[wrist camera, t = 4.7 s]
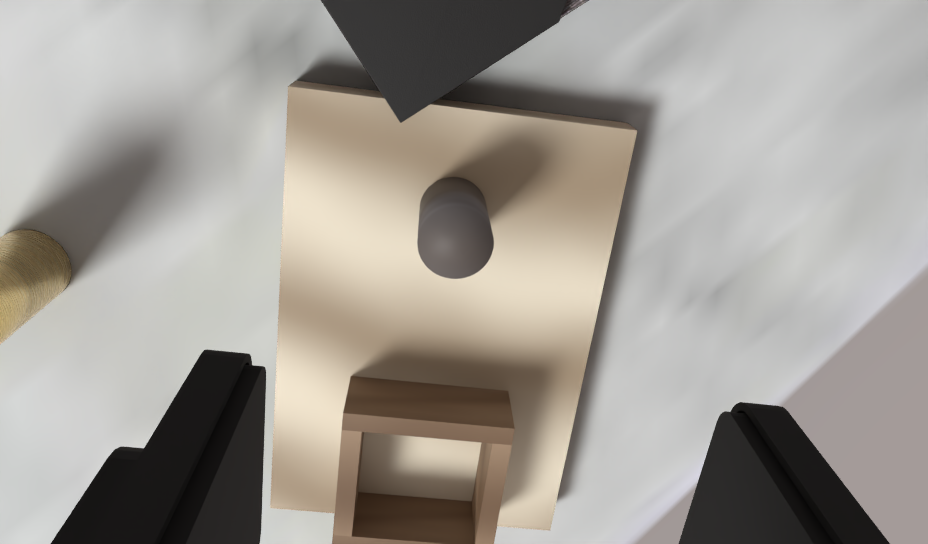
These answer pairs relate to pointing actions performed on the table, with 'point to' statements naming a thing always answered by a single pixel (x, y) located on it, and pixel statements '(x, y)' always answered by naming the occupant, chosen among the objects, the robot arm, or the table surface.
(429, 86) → the picture frame
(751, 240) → the table surface
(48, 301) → the brass pin
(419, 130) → the board
